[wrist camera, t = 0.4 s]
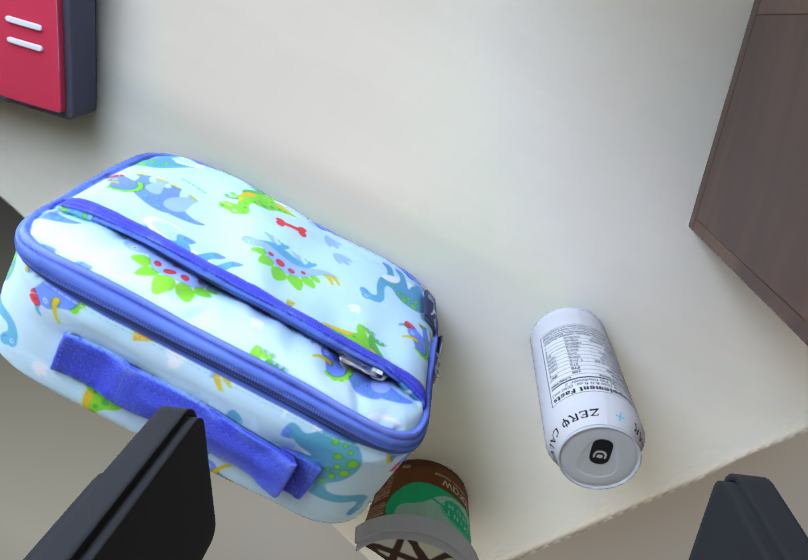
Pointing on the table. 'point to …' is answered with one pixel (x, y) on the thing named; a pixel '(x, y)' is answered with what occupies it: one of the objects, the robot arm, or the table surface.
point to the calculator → (49, 55)
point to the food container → (419, 516)
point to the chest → (764, 164)
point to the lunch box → (226, 329)
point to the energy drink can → (585, 401)
